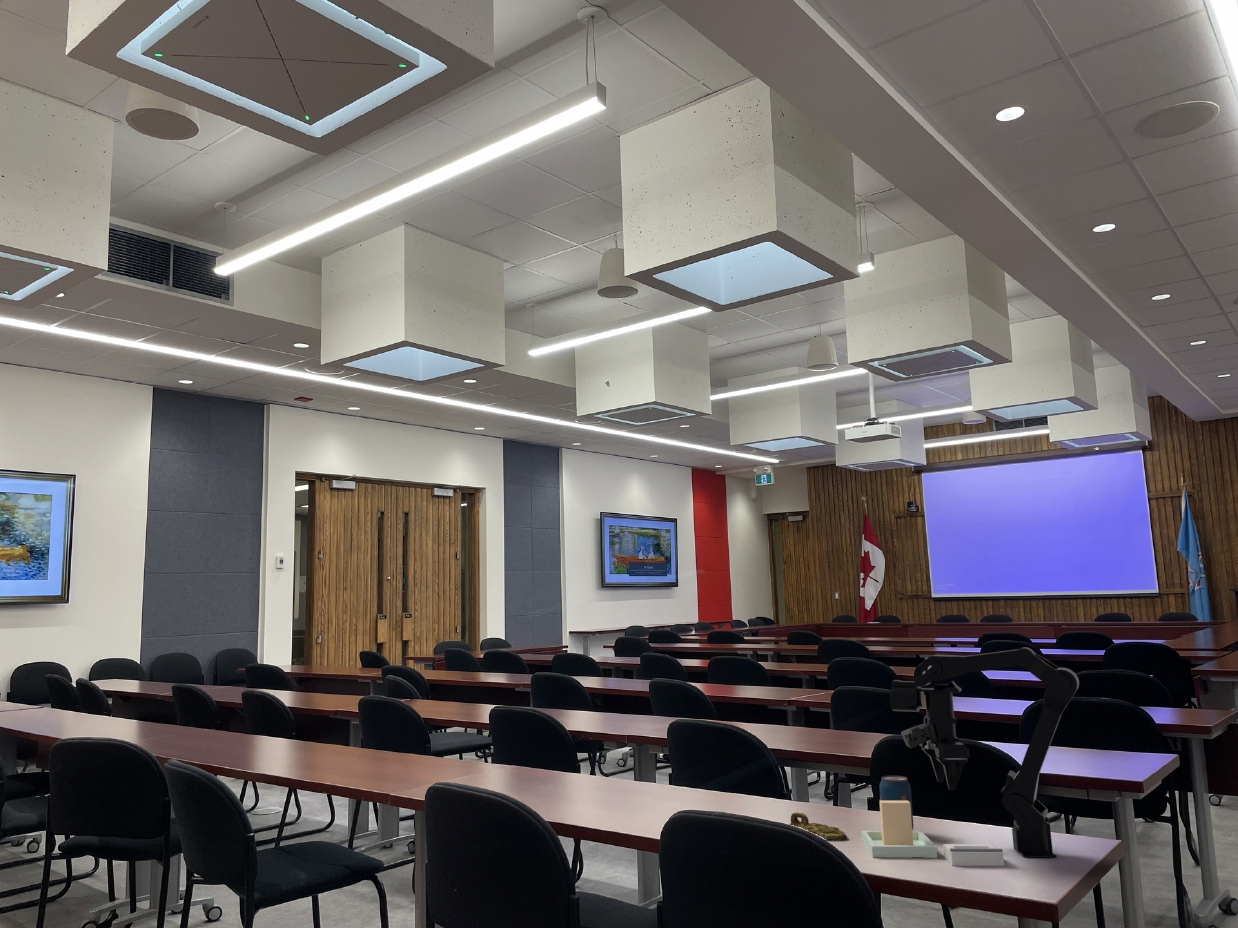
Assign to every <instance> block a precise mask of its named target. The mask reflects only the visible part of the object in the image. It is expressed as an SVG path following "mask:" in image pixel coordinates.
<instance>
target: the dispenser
mask: <svg viewBox="0 0 1238 928" xmlns="http://www.w3.org/2000/svg"><path fill="white" fill-rule="evenodd" d="M942 846H943V847H942V849H943V858H945V860H946V861H947V862H948V863H949V864H950V865H951V866H954V867H955V866H957V867H958V866H960V867H1005V857H1004V855H1005V854H1004V852H1003V849H1002V848H998V847H997V846H996V845H995V844H990V843H988V844H986V843H983V844H981V843H979V844H977V843H976V844H975V843H973V844H972V843H971V844H970V843H969V844H967V843H943V844H942Z"/></svg>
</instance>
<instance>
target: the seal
mask: <svg viewBox="0 0 1238 928" xmlns="http://www.w3.org/2000/svg"><path fill="white" fill-rule="evenodd" d="M799 818H800V819H801V820H799ZM789 820H790V824H789V825H794V826H797V827H801V828H803V829H805V830H808V831H809V832H812V833H814V834H817V835H818V836H821V837H823V838H824V839H826V840H827V841H828V842H829V841H830V842H840V841H841V842H842V841H845V840H847V838H848V837H847V835H846V833H845V832H844V831H843V830H841V829H840V828H839V827H835V826H829V825H828V824H821V823H817V822H811V823H810V822H809V818H808V816H807V814H805V813H804V812H803V813H802V812H800V813H799V812H792V813H791V814H790V819H789ZM827 841H826V842H827Z"/></svg>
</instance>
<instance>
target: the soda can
mask: <svg viewBox="0 0 1238 928" xmlns="http://www.w3.org/2000/svg"><path fill="white" fill-rule="evenodd" d="M879 798H880V799H879V800H882V801H909V802H910V806H911V819H912V831H914V828H915V827H914V825H915V824H914V814H913V801H912V788H911V785H910V783H909V781H908V777H906V776H902V775H883V776H882V777H881V781H880V782H879Z"/></svg>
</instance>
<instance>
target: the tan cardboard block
mask: <svg viewBox="0 0 1238 928" xmlns="http://www.w3.org/2000/svg"><path fill="white" fill-rule="evenodd" d="M878 801H879V812H880V813H879V815H880V829H881V830H880V831H881V832H882V845H913V833H912V831H913V830H912V819H911V806H910V802H909V801H882V800H880V799H879V800H878Z"/></svg>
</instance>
